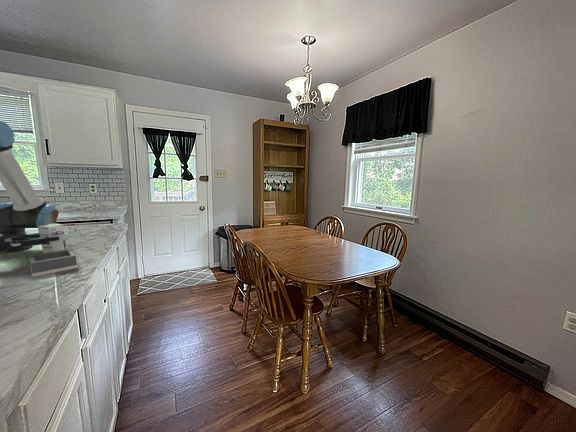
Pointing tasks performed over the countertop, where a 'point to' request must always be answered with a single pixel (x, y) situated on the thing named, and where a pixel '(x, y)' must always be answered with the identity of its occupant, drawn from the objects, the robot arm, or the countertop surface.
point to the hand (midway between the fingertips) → (67, 235)
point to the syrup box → (49, 231)
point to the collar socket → (52, 262)
